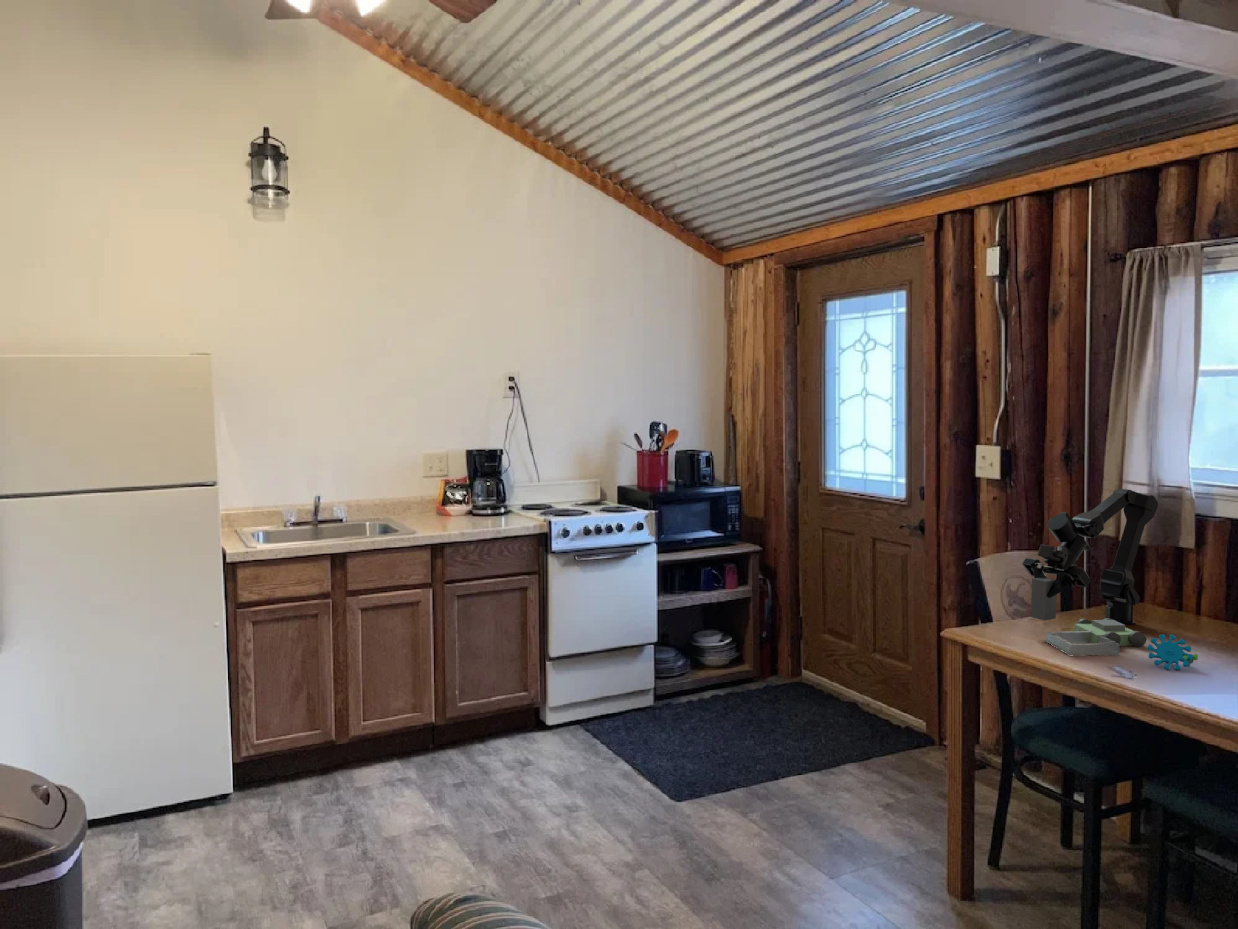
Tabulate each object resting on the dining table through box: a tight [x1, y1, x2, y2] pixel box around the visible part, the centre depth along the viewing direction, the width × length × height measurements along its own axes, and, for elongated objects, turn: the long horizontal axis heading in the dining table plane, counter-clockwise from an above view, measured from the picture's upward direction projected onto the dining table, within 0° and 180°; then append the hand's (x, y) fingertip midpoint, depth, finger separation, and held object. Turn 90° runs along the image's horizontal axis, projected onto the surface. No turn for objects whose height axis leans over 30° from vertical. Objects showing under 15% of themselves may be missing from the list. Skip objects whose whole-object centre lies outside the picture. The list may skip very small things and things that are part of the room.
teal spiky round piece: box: [1146, 633, 1199, 671], centre depth 237 cm, size 11×6×10 cm
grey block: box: [1030, 577, 1057, 621], centre depth 264 cm, size 4×4×11 cm
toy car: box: [1073, 617, 1147, 648], centre depth 262 cm, size 12×16×4 cm
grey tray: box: [1045, 630, 1121, 657], centre depth 253 cm, size 13×13×3 cm
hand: (1040, 595), depth 264 cm, fingers closed on grey block, 4 cm apart
